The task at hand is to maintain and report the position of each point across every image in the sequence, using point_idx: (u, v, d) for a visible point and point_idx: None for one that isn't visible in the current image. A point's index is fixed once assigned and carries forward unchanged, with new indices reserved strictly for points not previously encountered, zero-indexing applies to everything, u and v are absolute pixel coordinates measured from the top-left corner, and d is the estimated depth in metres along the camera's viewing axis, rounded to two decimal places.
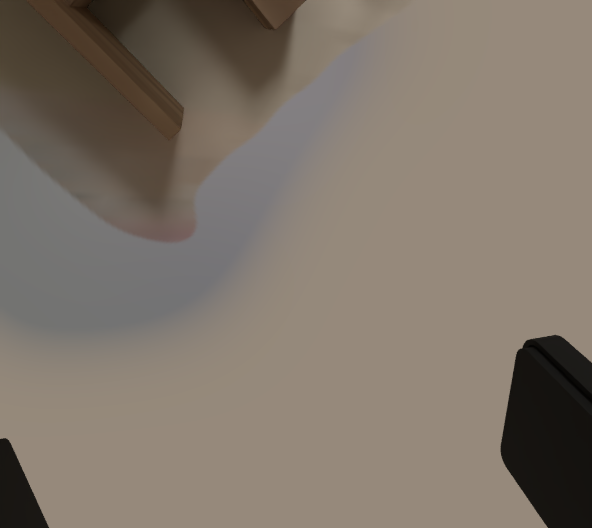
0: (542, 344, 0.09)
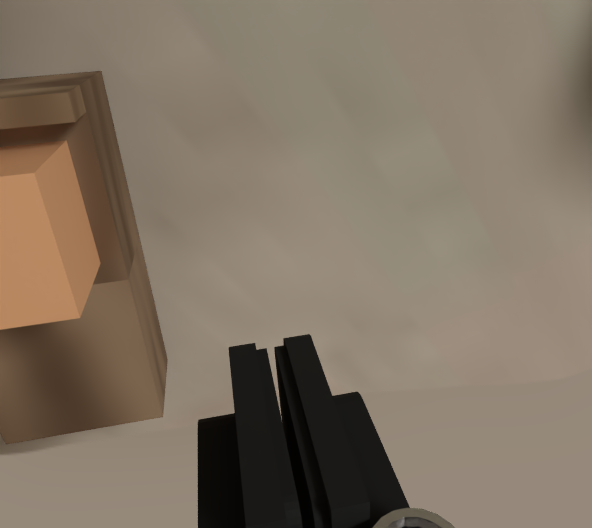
0: (288, 343, 0.09)
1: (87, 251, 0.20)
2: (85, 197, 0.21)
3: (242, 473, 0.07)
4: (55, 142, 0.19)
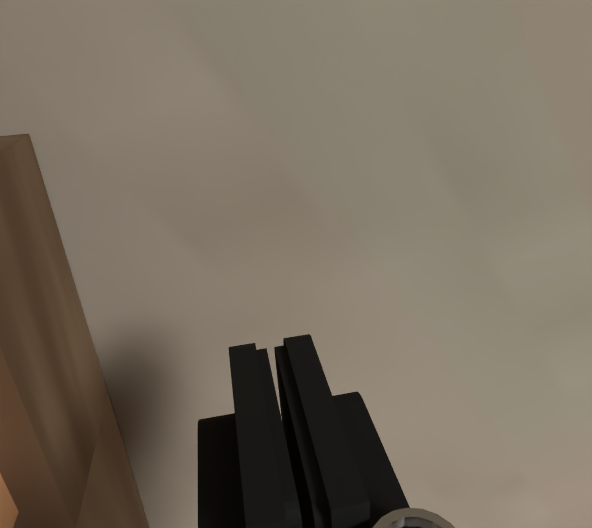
0: (288, 343, 0.09)
1: None
2: None
3: (242, 473, 0.07)
4: None
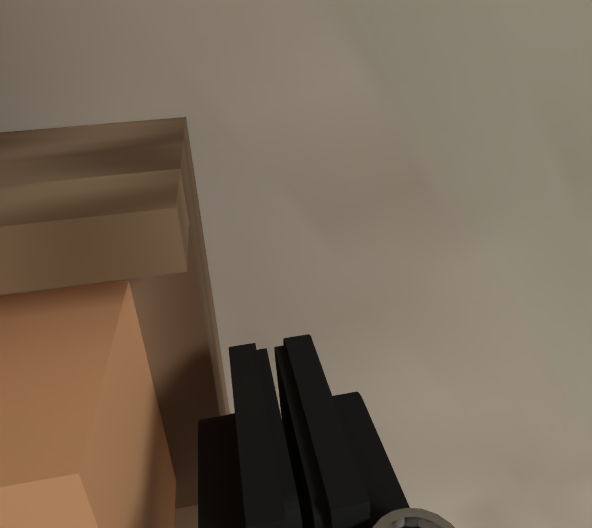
0: (288, 343, 0.09)
1: (163, 496, 0.10)
2: (171, 376, 0.11)
3: (242, 473, 0.07)
4: (106, 287, 0.09)
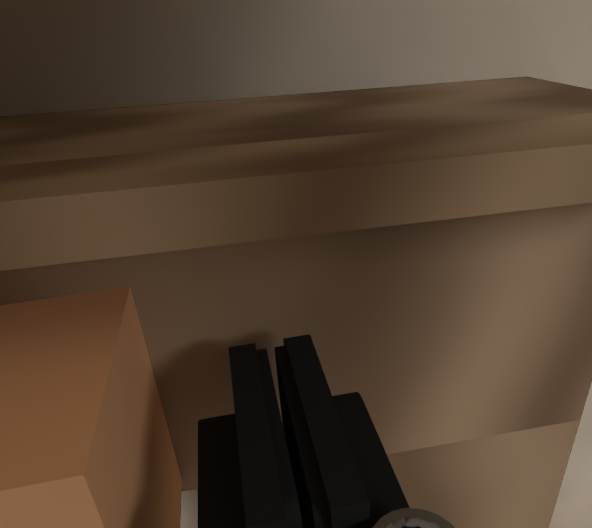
0: (288, 343, 0.09)
1: (168, 495, 0.10)
2: (584, 299, 0.12)
3: (242, 473, 0.07)
4: (108, 293, 0.09)
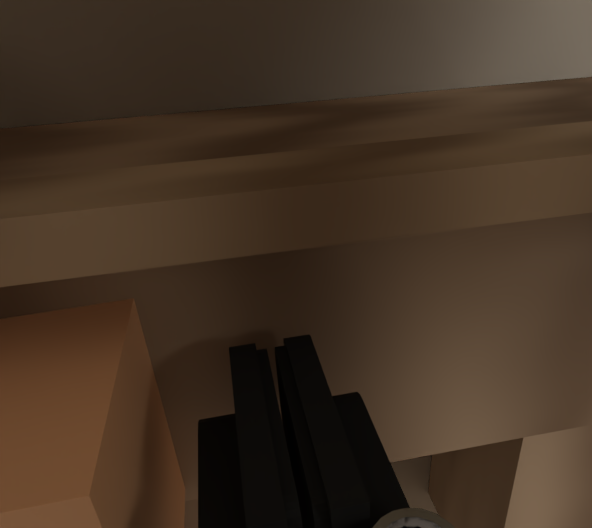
0: (288, 343, 0.09)
1: (172, 506, 0.10)
2: None
3: (242, 473, 0.07)
4: (112, 306, 0.09)
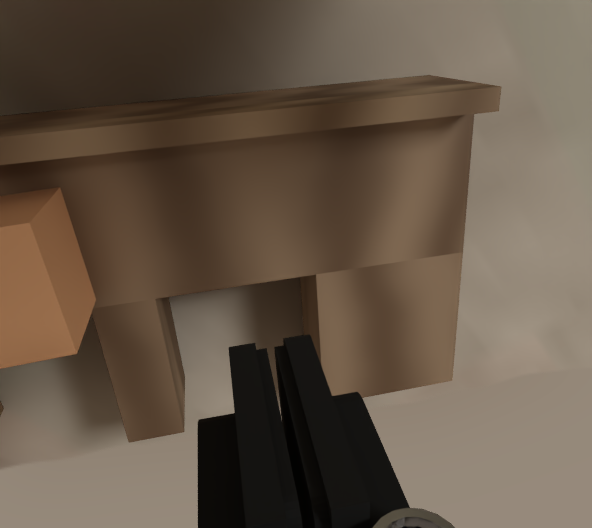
0: (288, 343, 0.09)
1: (82, 289, 0.22)
2: (452, 179, 0.24)
3: (242, 473, 0.07)
4: (49, 189, 0.21)
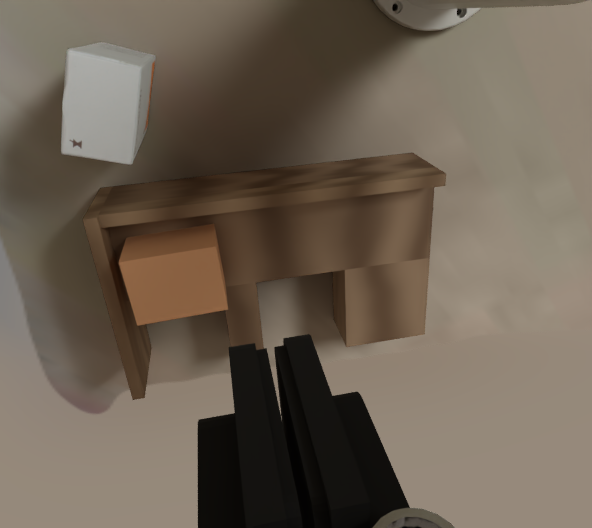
0: (288, 343, 0.09)
1: (223, 277, 0.41)
2: (422, 217, 0.43)
3: (242, 473, 0.07)
4: (209, 225, 0.40)
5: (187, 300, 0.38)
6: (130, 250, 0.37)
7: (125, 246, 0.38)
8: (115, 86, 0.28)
